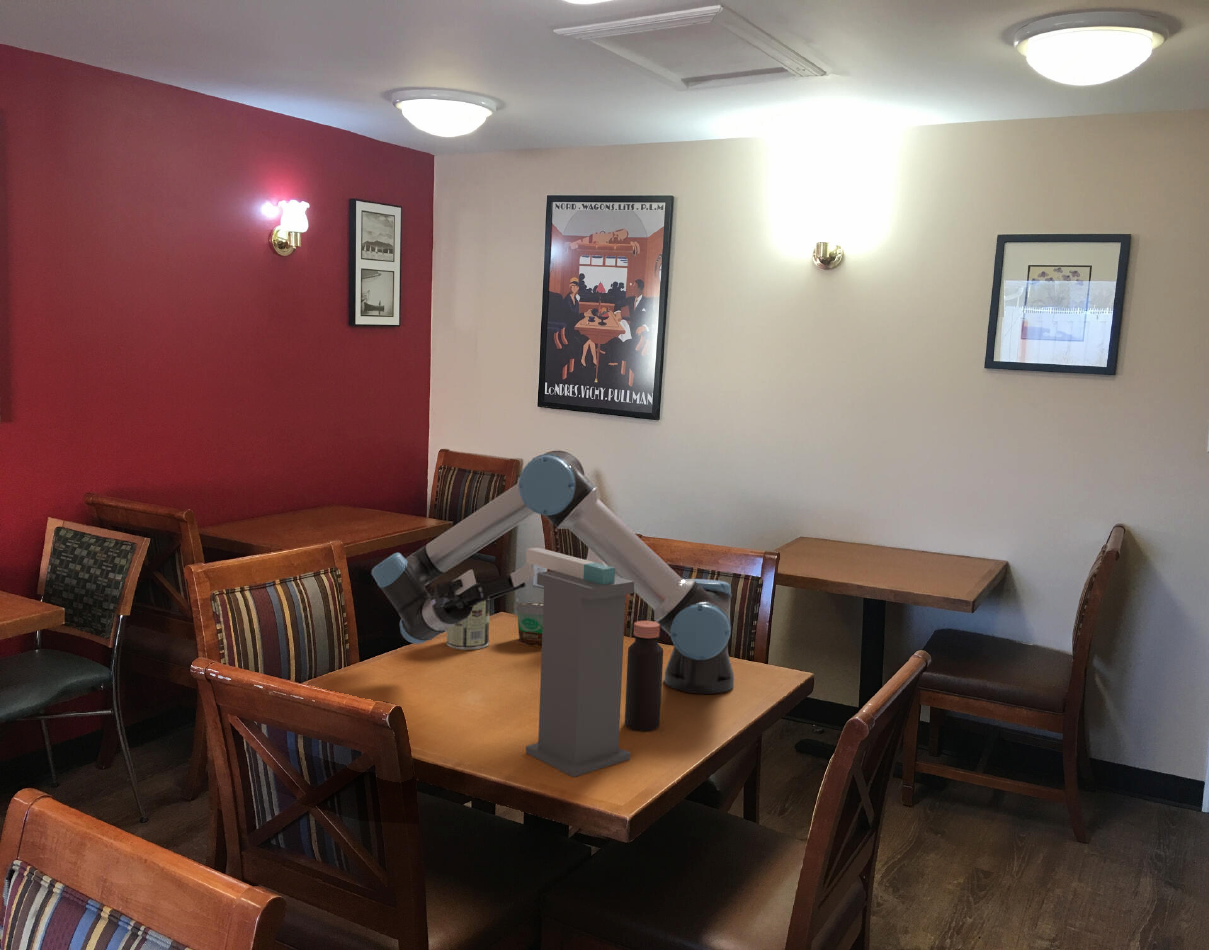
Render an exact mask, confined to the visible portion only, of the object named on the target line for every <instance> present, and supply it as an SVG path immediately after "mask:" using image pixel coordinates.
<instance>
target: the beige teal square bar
mask: <svg viewBox="0 0 1209 950" xmlns="http://www.w3.org/2000/svg"><path fill="white" fill-rule="evenodd" d="M525 556H526V560H525V561H526V562H525V563H526V564H527V563H529V564H532V566H537V567H540V568H543V569H547V570H550V571H557V572H560V573H564V574H567V575H571V576H574V577H578V578H581V579H585V580H588V581H592V582H595V583H599V584H602V585H604V584H611V583H614V581H615V576H616V573H615V568H614V567H610V566H606V565H603V564H599V563H595V562H591V561H588V560H586V559H585V558H579V557H575V556H572V555H567V554H564V553H561V552H556V551H553V550H549V549H545V548H541V547H530V548H526V555H525Z"/></svg>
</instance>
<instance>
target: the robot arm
mask: <svg viewBox="0 0 1209 950" xmlns="http://www.w3.org/2000/svg"><path fill="white" fill-rule="evenodd" d="M535 514H538V515H540V516H544V517H545V518H546V519H547V520H548V521H549V522H550V523H551V524H552V525H553V526H555V527H556V528H557V529H559V530H560V529H561V530H562V529H564V530H565V529H566V530H567V529H568V530H570V532H571V533H572V534H574V536H576V537H577V538H578V539H579V540H580V541H581V542H582V543H583V544H584V545H585V546H586V547H587V548H588V549H589V548H590V549H591V550H592V551H593V552H594V553H595V554H596V555H597V556H598V557H599V558H600V559H601V560H602V561H603V562H604V563H605V564H606V565H607V566H610V567H614V568H615V575H617V577H619V578H623V579H627V580H630V581H634V593H635V594H637V595H638V597H640V598H641V600H642V601H644V602H645V603H646V604H647V605H648V606H650V607H651V609H652V610H653V612H654V622H657V623H659V624H660V628H662V630H663V631H665V633H667V634H668V636H669V637H670V639H671V642H672V643H673V649H672V652H671V654H670V657H669V659H668V662H667V665H666V667H665V670H664V683H665V684H666V686H668V687H670V688H672V689H674V690H677V691H680V692H686V693H690V694H691V693H692V694H701V695H712V694H721V693H726V692H728V691H730V690H733V688H734V687H735V685H734V684H735V683H734V682H735V674H734V672H733V671H734V670H733V666H732V663H731V658H730V655H729V652H728V651H729V649H728V648H729V640H730V637H731V634H732V631H731V630H732V625H731V600H732V599H731V598H732V586H731V584H729V582H726V581H723V580H715V579H704V578H682V577H681V576H680V575H679V574H677V572H676V571H675V570H673V568H671V567H670V565H668V564H667V563H666V562H665V561H664V560H663V558H661V557H660V556H659V555H658V554H657V553H656V552H655V551H654V550H653V549H652V548H650V547H649V546H648V545H647V544H646V543H645V542H644V541H643V540H642V539H641V538H640V537H639V536H638V535H637V534H635V532H634V531H633V530H632V529H630V527H628V525H626V524H625V523H624V522H623V521H622V520H621V519H620V518H619V517H618V516H617V515H616V514H615V513H614V512H613V511H611V509H609V507H607V506H606V505H605V504H604V503H603V502H602V501H601V500H600V499H599V498H598V487H597V486H596V485H595V484H594V483H593V482H592V481H591V480H590V479H588V477H587V476H586V475H585V471H584V467H583V466H582V463H581V462H580V460H579V459H578V458H577V457H576V456H575V455H573V454H572V453H569V452H568V451H564V450H552V451H548V452H545V453H543V454H539V455H537V456H535V457H533V458H532V459H531V460H530V461H528V462H527V464H526V465H525V466H524V468H523V469H522V471H521V473H520V474H519V477H518V478H517V483H516V484H515V485H513V486H512V487H511V488H508V490H506V491H504V492H503V493H501V494H500V495H498V496H497V497H495V498H494V499H492V500H491V501H489V502H488V503H487V504H485V505H484V506H482V507H480V508H479V509H478V510H476V511H474V512H473V513H472V514H470V515H469V516H467V517H465V518H464V519H463V520H461V521H459V522H458V523H457V524H455V525H453V527H451V528H449V529H448V530H446V531H444V532H443V533H442V534H440V535H438V536H437V537H436V538H434V539H433V540H431V541H430V542H428V543H427V544H426V545H423V546H422V547H421V548H419V549H418V550H416V551H415V552H413V553H411V554H409V556H406V558H405V557H404V556H403V555H402V554H401V552H395V553H393V554H392V555H390V556H389V557H387V558H385V559H384V560H382V561H381V562H379V563H378V564H377V565H375V566H374V567H373V568H372V570H371V576H372V577H373V578H374V580H375V582H376V583H377V586H378V588H380V589H381V591H382V592H383V594H384V595H385V596H386V598H387V599H388V601H389V602H390V603H391V605H392V606H393V607H394V608H395V610H396V612H397V613H398V615H399V617H400V618H401V619H400V621H399V629H400V634H401V635H402V637H403V639H405V640H406V641H407V642H409V643H410V644H415V645H420V644H423V643H426V642H427V641H431V640H433V639H434V638H436V637H438V636H439V635H440V634H442V633H444V632H446V633H447V632H448V631H449V628H450V627H451V626H453V625H455V624H457V623H459V622H460V621H462V620H464V619H465V618H467V617H468V616H469V615H470V614H471V612H472V609H473V606H475V605H477V604H478V603H480V602H483V601H486V602H490V603H491V601H493V600H495V599H497V598H500V597H502V596H504V595H507V594H510V593H512V592H516V591H517V590H520V589H523V588H525V587H526V583H525V582H527V581H528V580H530V579H532V578H534V577H535V576H536V575H535V572H534V568H533V565H532V564H529V563H526V564H524V565H522V566H521V567H519V568H518V569H516V570H513V571H512V572H511V573H510V575H508V576H506V577H503V578H500V579H497V580H494V581H492V582H489V583H483V582H481V583H480V584H477V585H475V584H476V583H477V580H476V578H475V573H474V570H473V569H469V570H467V571H465V572H464V573H463V574H461V575H459V576H458V577H457V578H455V579H453V580H452V582H446V583H445V584H444V586H442V584H436V585H435V586H434V592H433V595H431V594H430V593H429V592H428V590H427V589H426V586H427V585H429V584H431V583H432V582H434V581H435V580H436V579H438V578H439V577H441V576H442V575H444V574H445V573H446V572H448V571H450V570H451V569H453V568H454V567H456V566H457V565H459V564H460V563H462V562H463V561H464V560H467V559H468V558H470V557H471V556H472V555H474V554H475V553H477V552H478V551H480V550H481V549H483V548H484V547H486V546H488V545H489V544H491V543H492V542H494V541H495V540H497V539H498V538H501V536H503V535H505V534H506V533H507V532H509V531H511V530H512V529H514V528H515V527H517V526H519V525H520V524H521V523H522V522H525V521H526V520H527V519H529V518H530V517H532V516H533V515H535ZM473 585H474V586H473ZM480 587H481V589H482V592H483V593H480V591H479V589H478V588H480Z"/></svg>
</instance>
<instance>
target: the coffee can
mask: <svg viewBox="0 0 1209 950" xmlns="http://www.w3.org/2000/svg"><path fill="white" fill-rule="evenodd" d="M477 584H480V583H478V582H476V584H475V585H477ZM473 586H474V585H473ZM478 589H479V591H480V593H483V592H482V589H481V587H480V588H478ZM490 604H491V601H490V602H486V601H483V602H480V603H478V604H477V605H475V606H473V609H472V612H471V614H470V615H469V616H468V617H467V618H465V619H464V620H462V621H460V622H459V623H457V624H455V625H453V626H451V627H450V628H449V631H448V632H446V646H447V647H449V648H451V649H454V650H463V651H472V650H475V651H476V650H482V649H485V648H487V647H488V646H489V644H490V643H489V642H490V641H489V637H490V634H489V633H490Z"/></svg>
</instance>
